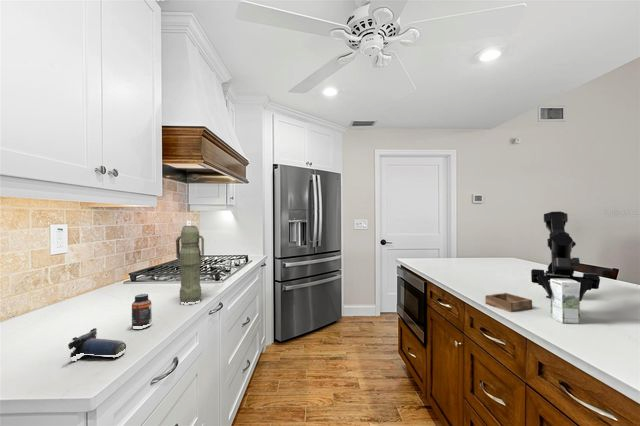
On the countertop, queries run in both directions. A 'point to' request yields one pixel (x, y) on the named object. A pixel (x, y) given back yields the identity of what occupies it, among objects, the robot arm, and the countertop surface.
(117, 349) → the spiky navy capsule
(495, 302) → the walnut caddy
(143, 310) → the supplement bottle
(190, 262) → the thermos
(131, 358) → the countertop surface
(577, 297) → the syrup box
